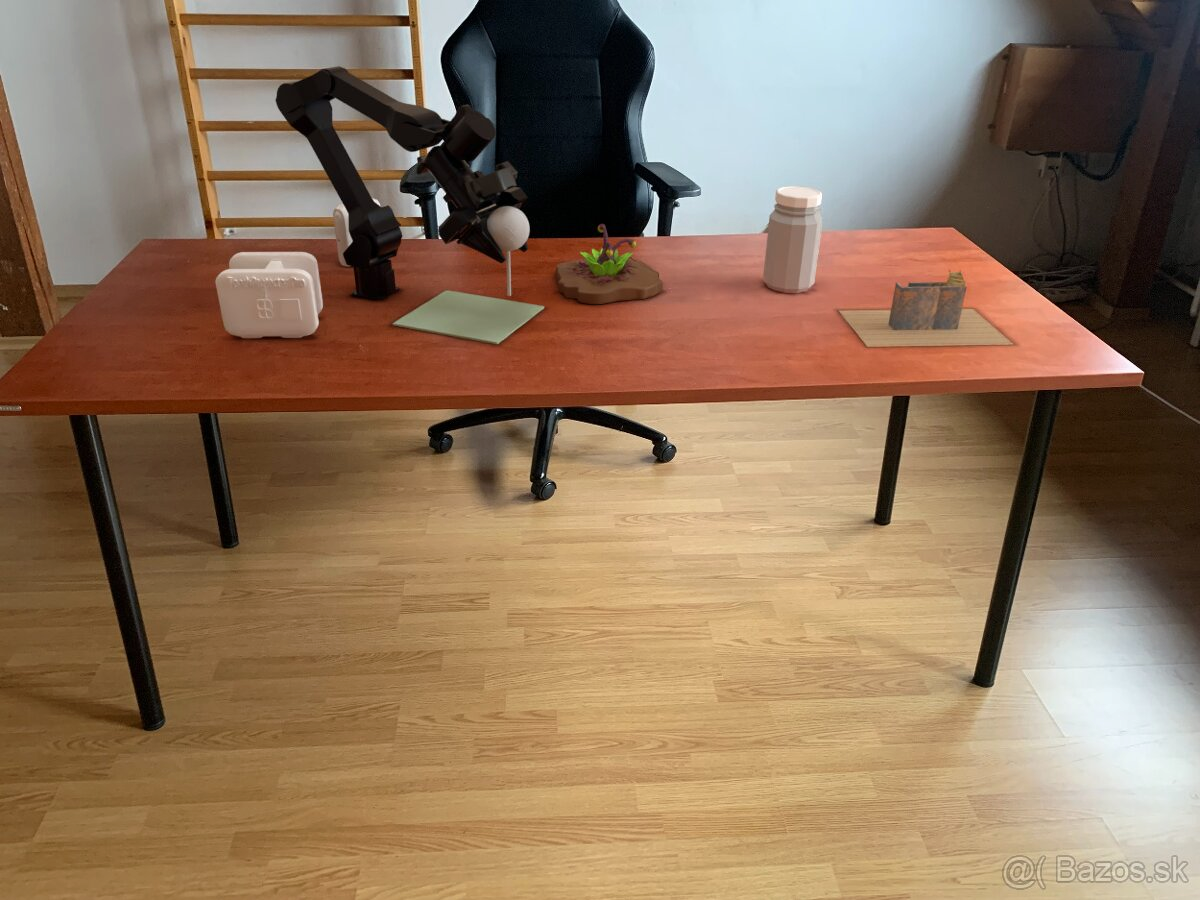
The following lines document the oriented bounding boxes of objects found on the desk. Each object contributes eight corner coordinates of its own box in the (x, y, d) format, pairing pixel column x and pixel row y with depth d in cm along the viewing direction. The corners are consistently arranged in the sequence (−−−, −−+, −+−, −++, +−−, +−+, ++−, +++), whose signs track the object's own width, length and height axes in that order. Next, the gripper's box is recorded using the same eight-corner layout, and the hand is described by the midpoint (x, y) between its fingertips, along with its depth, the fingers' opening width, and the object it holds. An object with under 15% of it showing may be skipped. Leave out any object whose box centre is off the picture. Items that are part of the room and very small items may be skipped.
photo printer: (349, 268, 185) (341, 206, 178) (335, 264, 187) (327, 202, 181) (390, 256, 192) (384, 195, 186) (376, 252, 194) (370, 192, 188)
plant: (637, 264, 190) (639, 209, 184) (674, 296, 174) (677, 237, 168) (541, 273, 184) (540, 216, 179) (570, 307, 168) (570, 246, 162)
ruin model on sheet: (972, 308, 171) (984, 256, 166) (1013, 344, 157) (1027, 288, 152) (838, 310, 169) (846, 258, 164) (867, 346, 155) (876, 290, 150)
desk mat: (392, 325, 160) (392, 323, 159) (446, 292, 174) (446, 289, 174) (497, 344, 153) (497, 342, 153) (544, 308, 168) (544, 306, 168)
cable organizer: (330, 316, 163) (321, 251, 157) (317, 340, 153) (308, 272, 148) (241, 317, 162) (229, 251, 156) (224, 341, 153) (210, 272, 147)
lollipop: (526, 286, 162) (525, 200, 155) (533, 301, 156) (532, 212, 149) (485, 289, 161) (482, 201, 153) (490, 304, 155) (488, 214, 147)
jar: (810, 297, 175) (822, 200, 166) (757, 290, 177) (767, 195, 168) (816, 280, 183) (829, 187, 174) (767, 274, 185) (776, 182, 176)
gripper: (449, 158, 141) (513, 242, 142) (516, 137, 156) (573, 213, 157) (411, 203, 148) (472, 282, 149) (478, 178, 163) (533, 251, 164)
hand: (515, 256), depth 155 cm, fingers closed on lollipop, 6 cm apart
